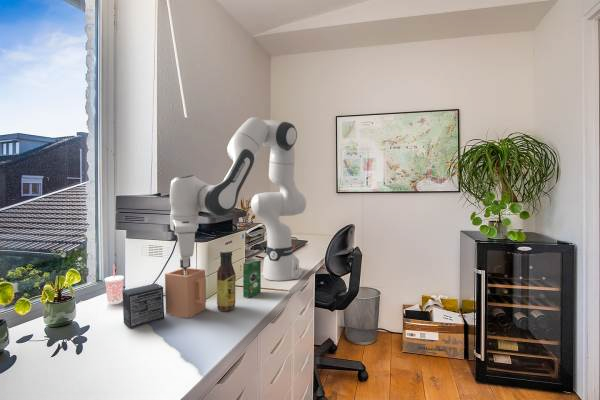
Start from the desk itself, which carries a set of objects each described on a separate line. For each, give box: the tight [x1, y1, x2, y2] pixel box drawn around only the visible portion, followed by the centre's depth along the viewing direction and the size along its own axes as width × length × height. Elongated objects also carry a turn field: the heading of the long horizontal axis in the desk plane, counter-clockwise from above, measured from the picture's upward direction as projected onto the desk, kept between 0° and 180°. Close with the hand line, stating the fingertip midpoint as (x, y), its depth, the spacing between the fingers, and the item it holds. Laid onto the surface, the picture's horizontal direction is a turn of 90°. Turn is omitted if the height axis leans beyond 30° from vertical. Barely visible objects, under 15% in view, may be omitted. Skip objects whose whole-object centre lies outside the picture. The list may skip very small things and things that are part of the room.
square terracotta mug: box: [164, 267, 207, 319], centre depth 111 cm, size 9×12×14 cm
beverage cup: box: [104, 263, 125, 305], centre depth 120 cm, size 6×6×14 cm
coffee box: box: [242, 259, 262, 299], centre depth 128 cm, size 8×3×13 cm, turn 151°
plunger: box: [179, 256, 191, 276], centre depth 111 cm, size 7×7×17 cm
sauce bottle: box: [216, 250, 236, 312], centre depth 114 cm, size 7×6×20 cm
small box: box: [122, 282, 165, 329], centre depth 104 cm, size 11×6×10 cm, turn 134°
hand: (185, 265), depth 111 cm, fingers closed on plunger, 3 cm apart
